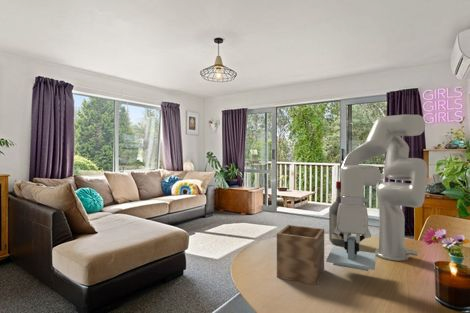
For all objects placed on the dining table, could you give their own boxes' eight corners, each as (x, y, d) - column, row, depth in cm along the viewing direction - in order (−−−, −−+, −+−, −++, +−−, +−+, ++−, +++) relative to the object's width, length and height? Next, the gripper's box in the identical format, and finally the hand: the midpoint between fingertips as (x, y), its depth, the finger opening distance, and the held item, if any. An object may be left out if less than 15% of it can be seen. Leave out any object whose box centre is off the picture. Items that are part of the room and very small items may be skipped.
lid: (375, 259, 104) (375, 235, 104) (374, 274, 91) (375, 247, 91) (332, 252, 111) (333, 230, 111) (326, 266, 98) (326, 240, 98)
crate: (324, 269, 108) (324, 229, 107) (316, 285, 95) (316, 239, 95) (288, 263, 114) (288, 224, 114) (276, 276, 102) (276, 233, 101)
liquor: (328, 239, 145) (328, 180, 145) (346, 240, 144) (346, 180, 144) (332, 245, 136) (332, 182, 136) (352, 245, 135) (352, 182, 135)
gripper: (377, 201, 101) (377, 253, 101) (330, 197, 108) (330, 246, 108) (377, 204, 94) (376, 260, 94) (327, 200, 101) (326, 252, 101)
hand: (351, 252), depth 101 cm, fingers closed on lid
